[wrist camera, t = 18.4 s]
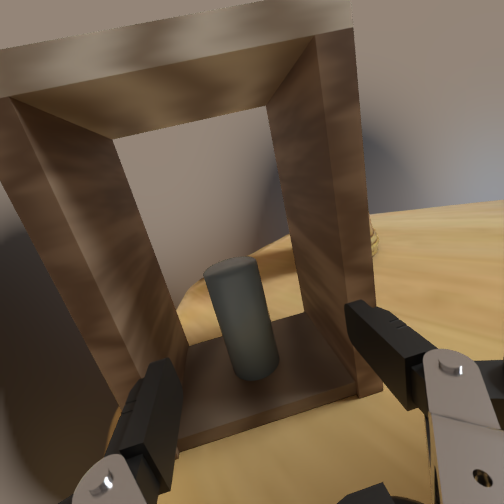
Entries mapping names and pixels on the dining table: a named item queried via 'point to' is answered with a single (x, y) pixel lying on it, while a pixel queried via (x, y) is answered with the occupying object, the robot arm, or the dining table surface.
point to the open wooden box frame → (128, 217)
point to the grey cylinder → (243, 317)
